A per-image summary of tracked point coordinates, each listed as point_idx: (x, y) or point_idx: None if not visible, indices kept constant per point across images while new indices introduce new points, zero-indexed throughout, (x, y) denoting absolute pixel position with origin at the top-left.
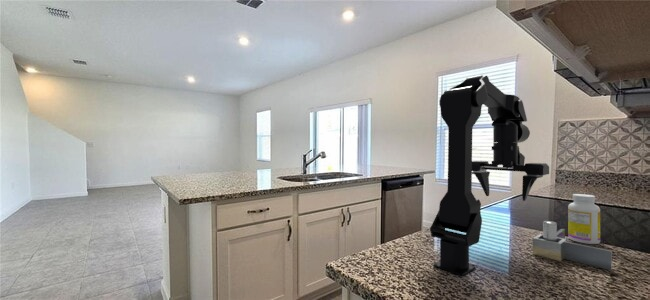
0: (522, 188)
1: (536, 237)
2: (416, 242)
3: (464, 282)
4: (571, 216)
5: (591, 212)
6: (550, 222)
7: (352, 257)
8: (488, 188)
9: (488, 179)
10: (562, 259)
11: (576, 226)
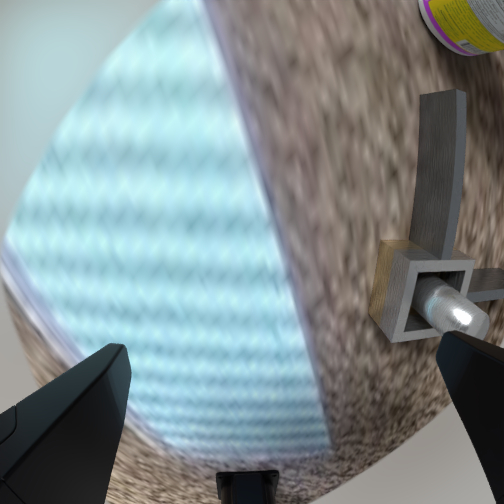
0: (478, 457)
1: (401, 325)
2: None
3: (283, 498)
4: (493, 13)
5: None
6: (474, 332)
7: None
8: (97, 405)
9: (21, 478)
10: None
11: (482, 37)
